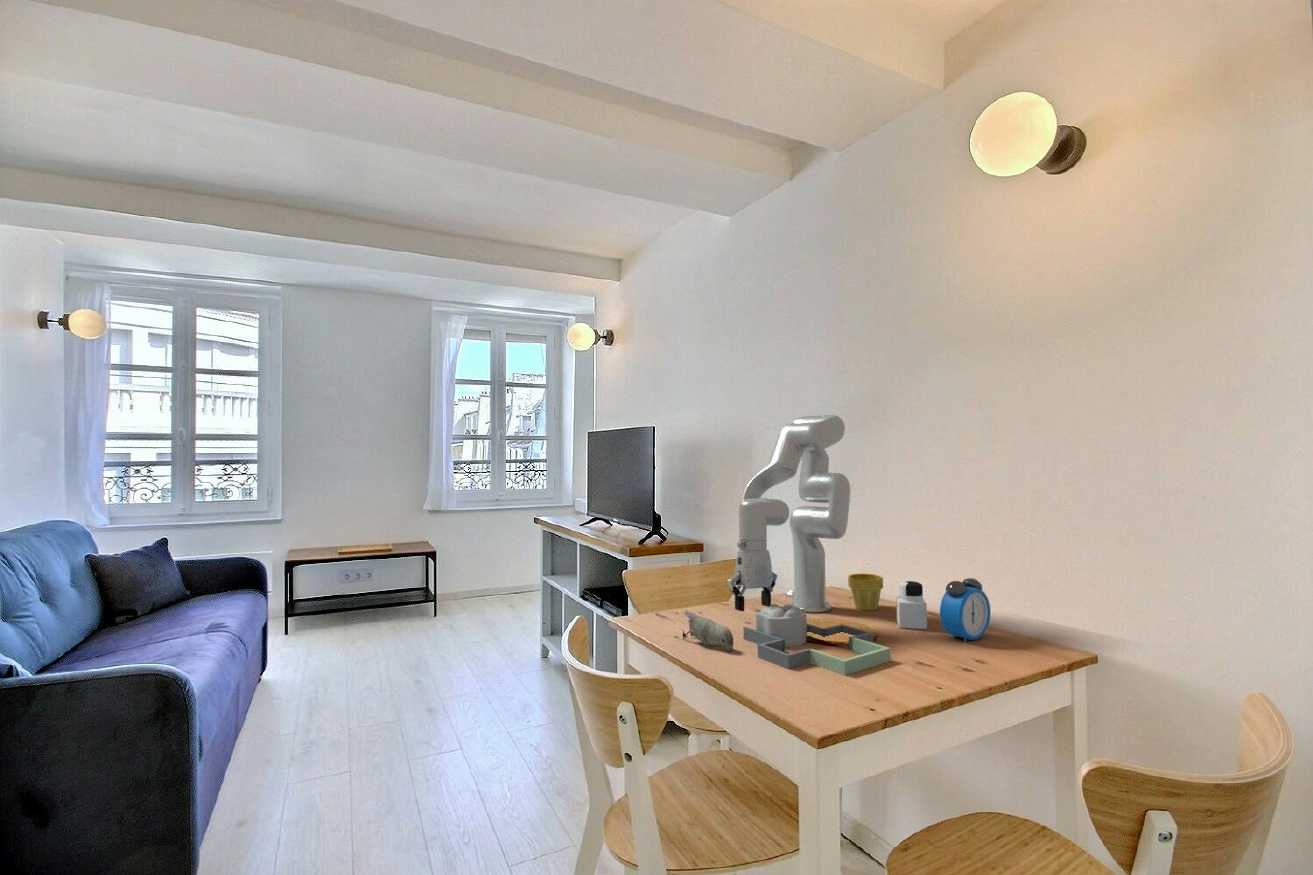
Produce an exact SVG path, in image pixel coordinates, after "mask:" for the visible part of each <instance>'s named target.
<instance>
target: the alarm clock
mask: <svg viewBox="0 0 1313 875" xmlns="http://www.w3.org/2000/svg"><path fill="white" fill-rule="evenodd" d="M939 617H940V623H941V626H942V628H943V629H944V630H945V632H946V633H947V634H949V635H952V636H955V637H959V638H962V639H964V641H963V642H964V643H966V642H967V640H970V641H976V640H978V639H980V638H982V639H983V635H984V634H985V633H986V631H987V629H988V627H989V625H990V621H991V604H990V600H989V598H988V596H987V595H986V592H985V591H983V585H982V583H981V582H980V581H979V580H978V579H976V578H975V577H974V578H972V577H971V578H969V577H967V578H965V579H963V580H962V581H959V580H952V581H950V582H948V583H947V584H946V587H945V593H944V594H943V596H942V598H941V601H940V607H939Z"/></svg>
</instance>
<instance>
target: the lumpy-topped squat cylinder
mask: <svg viewBox="0 0 1313 875" xmlns="http://www.w3.org/2000/svg"><path fill="white" fill-rule="evenodd" d="M755 617H756V618H755V622H756V623H755V625H756V626H755V627H756V628H755V630H758V631H761V632H764V633H767V634H769V635H772V636H775V637H778V638H781V639H784V640H785V648H789V647H790V648H791V647H796V646H801V645H804V644H805V643H806V642H807V641H806V636H807V624H808V623H807V622H808V621H807V618H808V617H807V612H806V611H805V610H803V609H800V608H799V607H794V606H793V605H790V603H789V604H785V605H783V606H782V605H781V606H780V605H779V604H777V603H771V605H770V606H769V607H767V606H766V607H764V608H762V609H760V610H757V611H756V614H755ZM807 637H808V636H807Z"/></svg>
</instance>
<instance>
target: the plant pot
mask: <svg viewBox="0 0 1313 875" xmlns="http://www.w3.org/2000/svg"><path fill="white" fill-rule="evenodd" d="M847 583H848V588H850V590H851V594H852V598H853V603H854V607H855V608H856V609H858V610H863V611H874V610H877V609H878V608H879V605H880V604H879V603H880V597H881V593H882V592H881V591H882V589H884V578H883V576H882V575H880V574H875V573H862V572H861V573H852V574H848V576H847Z"/></svg>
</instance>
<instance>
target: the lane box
mask: <svg viewBox="0 0 1313 875" xmlns="http://www.w3.org/2000/svg"><path fill="white" fill-rule="evenodd" d="M807 632H812V633H814V634H818V635H821V636H823V637H825V636H829V635H833V634H836V633H840V632H844V633H848V634H851V635H855V636H853V637H849V645H837V647H840V648H842V649H846V650H849V651H852V652H856V653H859V654H858V655H855V656H851V657H847V658H840V657H838V656H834V655H831V654H829V653H825V652H824V651H821V650H820V651H819V650H816V649H814V648H811V647H808V648H804V649H800V650H797V651H796V650H795V651H793V652H789V651H786V647H785V640H784V639H781V638H778V637H775V636H772V635H769V634H767V633H764V632H761V631H758V630H756V628H751V627H748V626H744V627H743V639H744V640H745V641H749V642H752V643H754V644H757V658H759V659H761V660H764V661H767V662H769V663H771V664H775V665H777V666H779V667H781V668H784V669H787V670H790V669H793V668H796V667H797V668H798V667H801V666H804V665H807V664H812V665H815V666H817V667H819V668H823V669H826V670H829V671H831V672H833V673H837V674H839V675H842V676H848V675H850V674H853V673H857V672H860V671H864V670H867V669H869V668H873V667H876V666H879V665H883V664H885V663H889V662H891V661H892V659H891V656H892V655H891V653H892V652H891V647H888V646H885V645H881V644H878V643H875V641H874V639H875V637H874V636H875V635H874V632H872V631H868V630H865V629H861V628H858V627H853V626H852V625H851V626H850V625H846V624H843V623H840V624H836V625H831V626H829V627H825V628H823V627H820V626H817V625H814V624H810V623H807Z"/></svg>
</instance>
